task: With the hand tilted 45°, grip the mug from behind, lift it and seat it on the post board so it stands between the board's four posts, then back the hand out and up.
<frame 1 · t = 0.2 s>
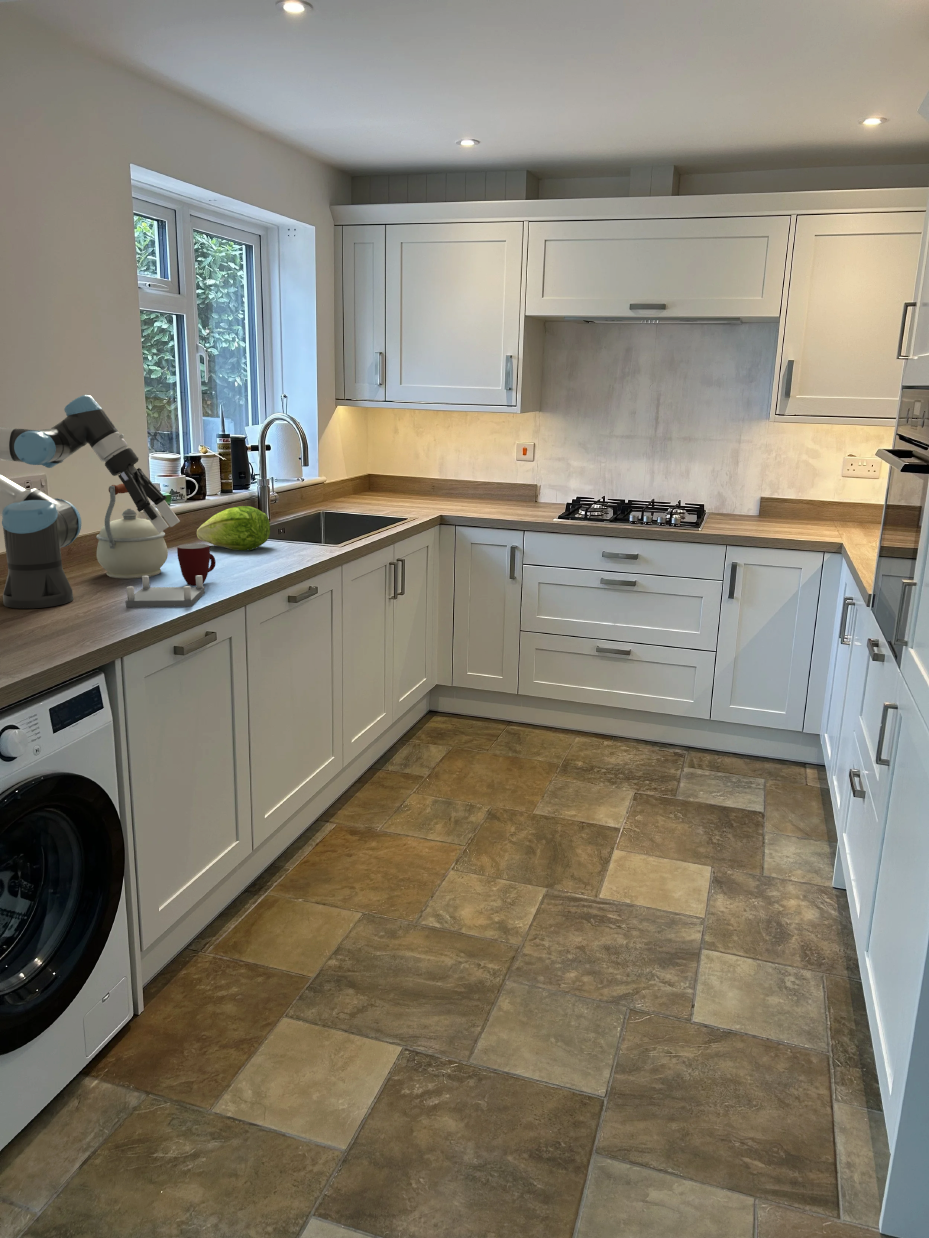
hand: (170, 527, 231), 16 cm above the worktop, fingers open, 13 cm apart
post board: (166, 599, 224), on the worktop
mug: (199, 584, 243), on the worktop
kettle: (137, 573, 256), on the worktop
lettuce: (232, 548, 297), on the worktop
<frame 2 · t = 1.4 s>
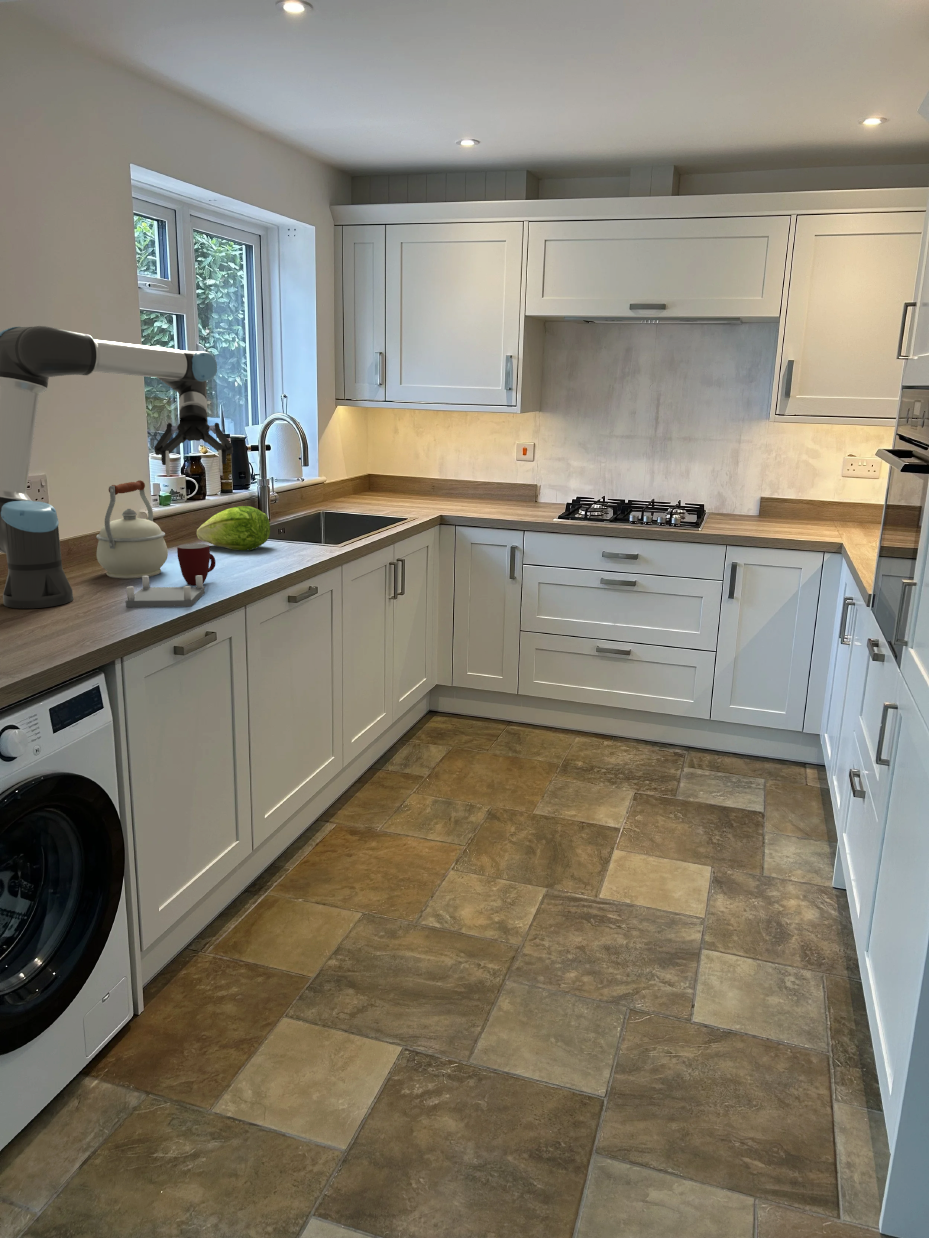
hand: (194, 472, 246), 28 cm above the worktop, fingers open, 13 cm apart
nothing on the worktop moved.
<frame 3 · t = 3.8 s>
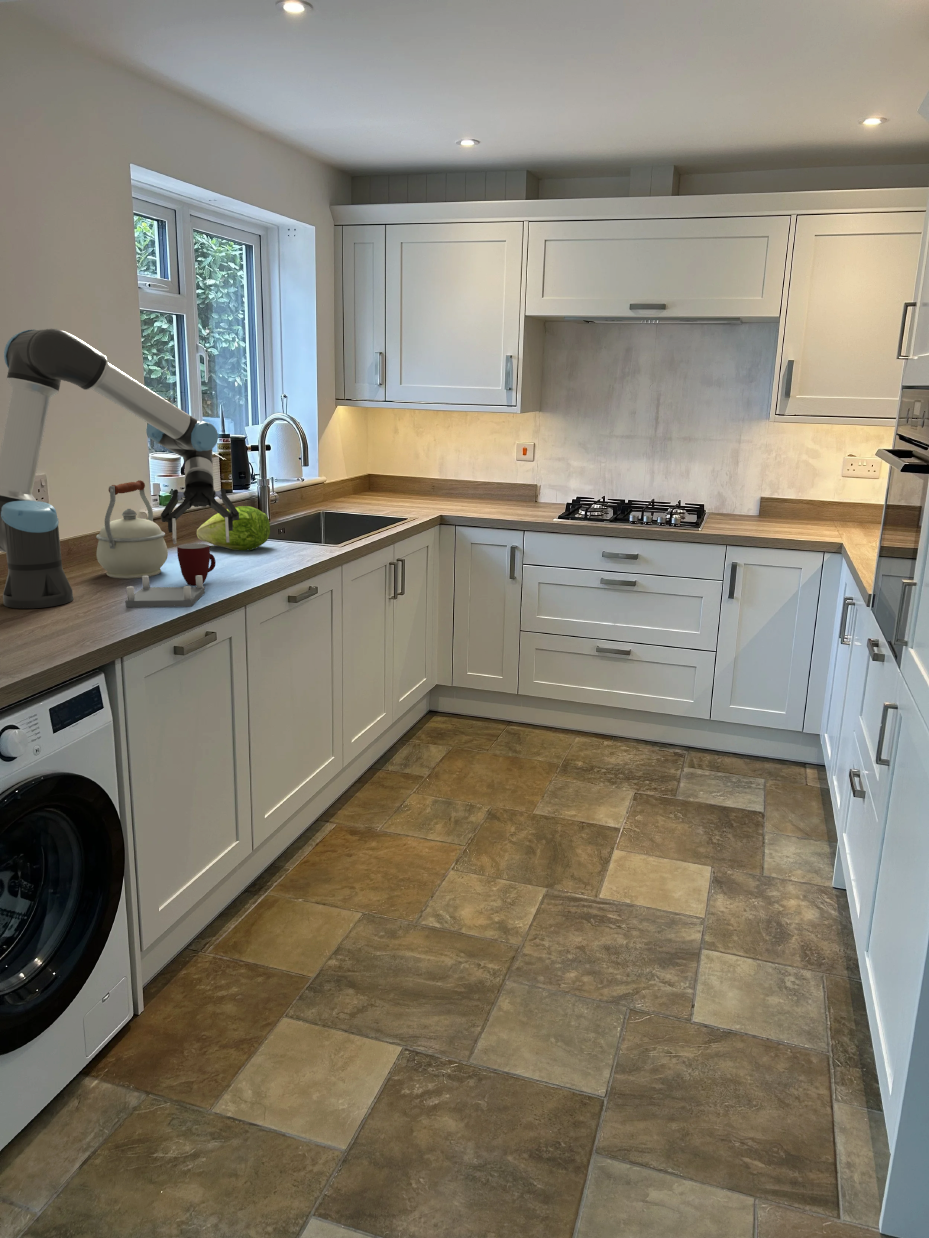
hand: (201, 540, 246), 10 cm above the worktop, fingers open, 13 cm apart
nothing on the worktop moved.
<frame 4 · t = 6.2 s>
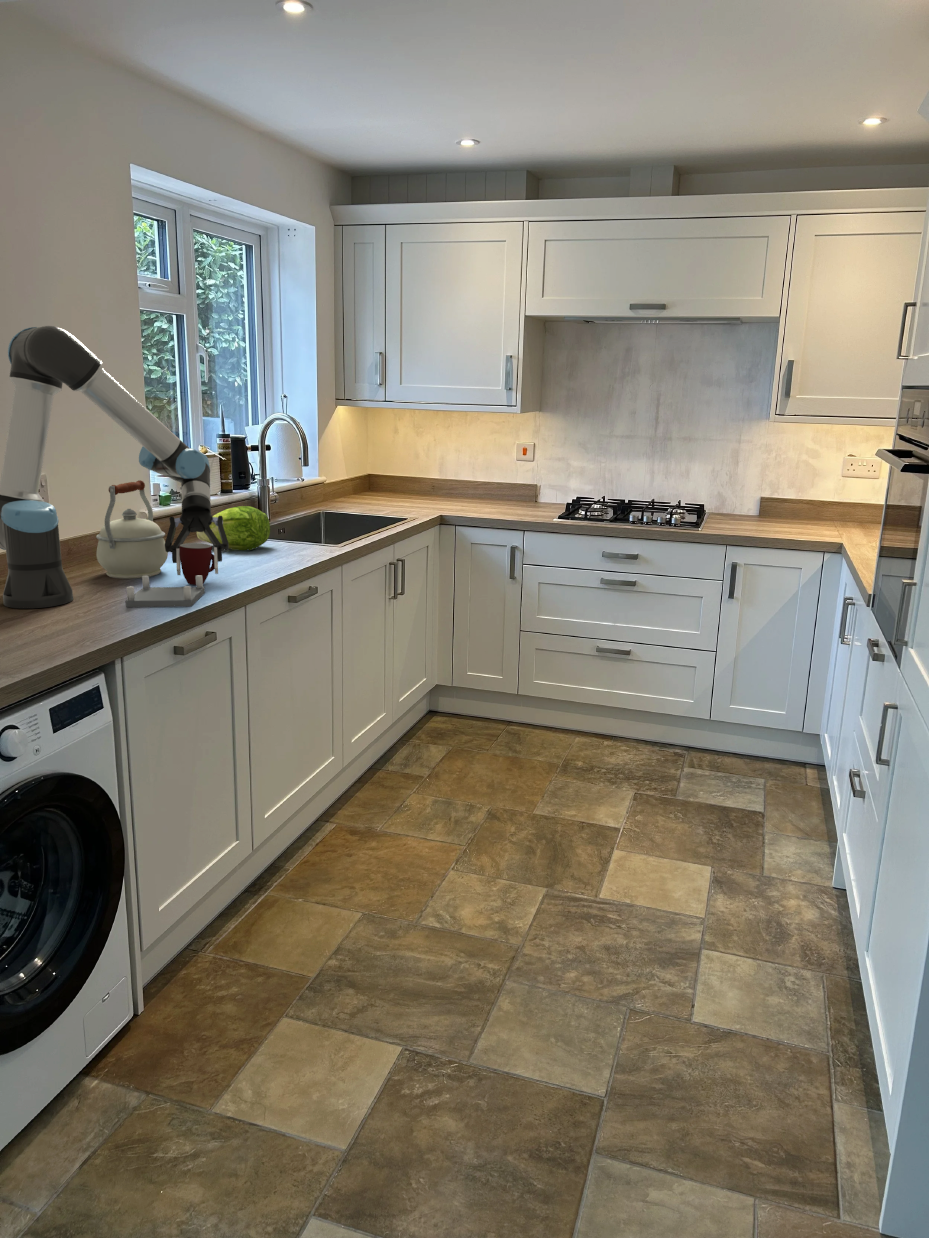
hand: (197, 571, 239), 4 cm above the worktop, fingers closed on mug, 9 cm apart
mug: (199, 583, 243), on the worktop, touching gripper
everything else where it was.
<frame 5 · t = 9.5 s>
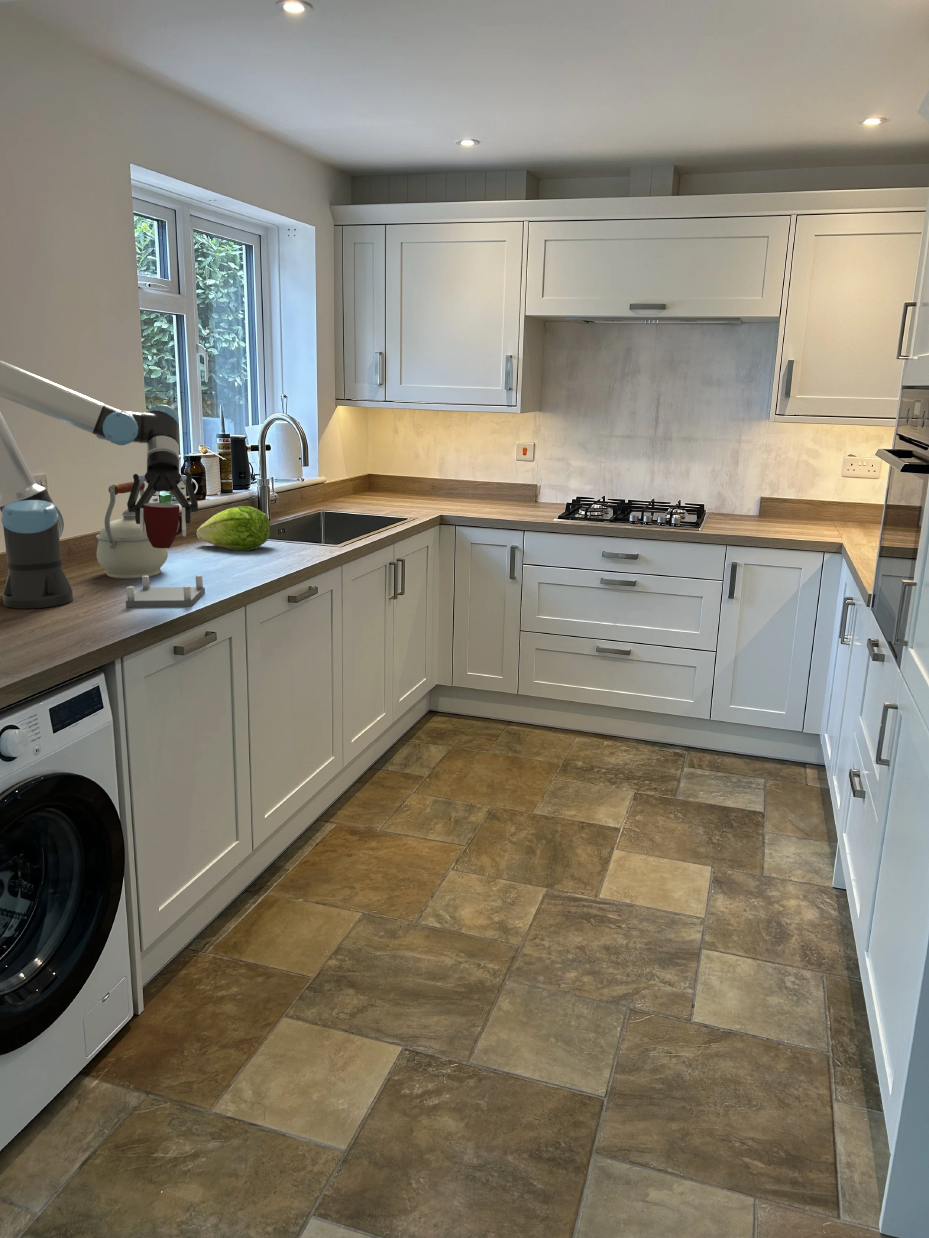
hand: (163, 533, 218), 16 cm above the worktop, fingers closed on mug, 9 cm apart
mug: (165, 547, 222), point 13 cm above the worktop, touching gripper
everything else where it was.
when the fingers open (7 cm above the worktop, at t = 12.8 s): mug drops 1 cm, resting on post board.
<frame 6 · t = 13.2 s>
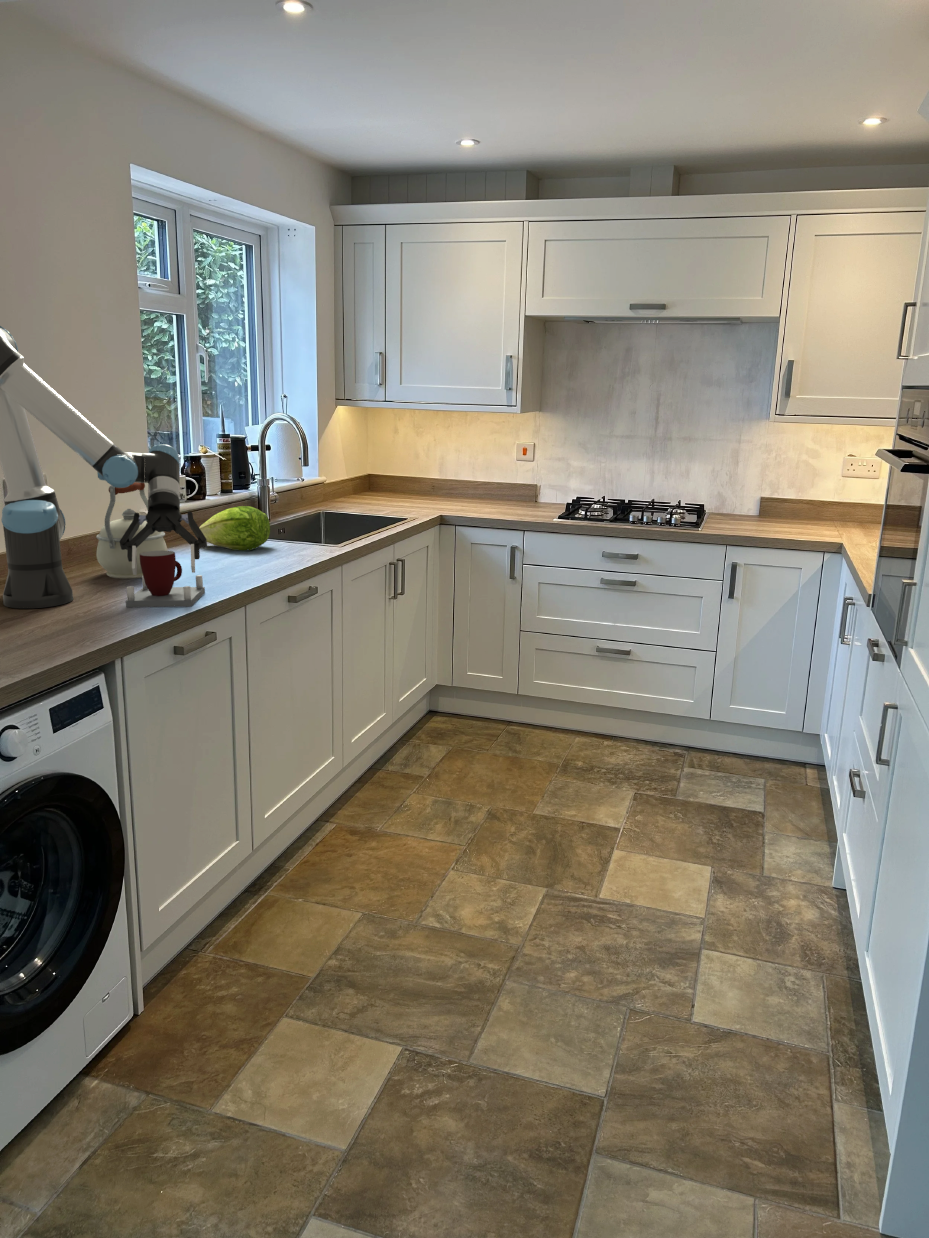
hand: (163, 570, 220), 8 cm above the worktop, fingers open, 13 cm apart
mug: (164, 594, 224), point 1 cm above the worktop, touching post board
everything else where it was.
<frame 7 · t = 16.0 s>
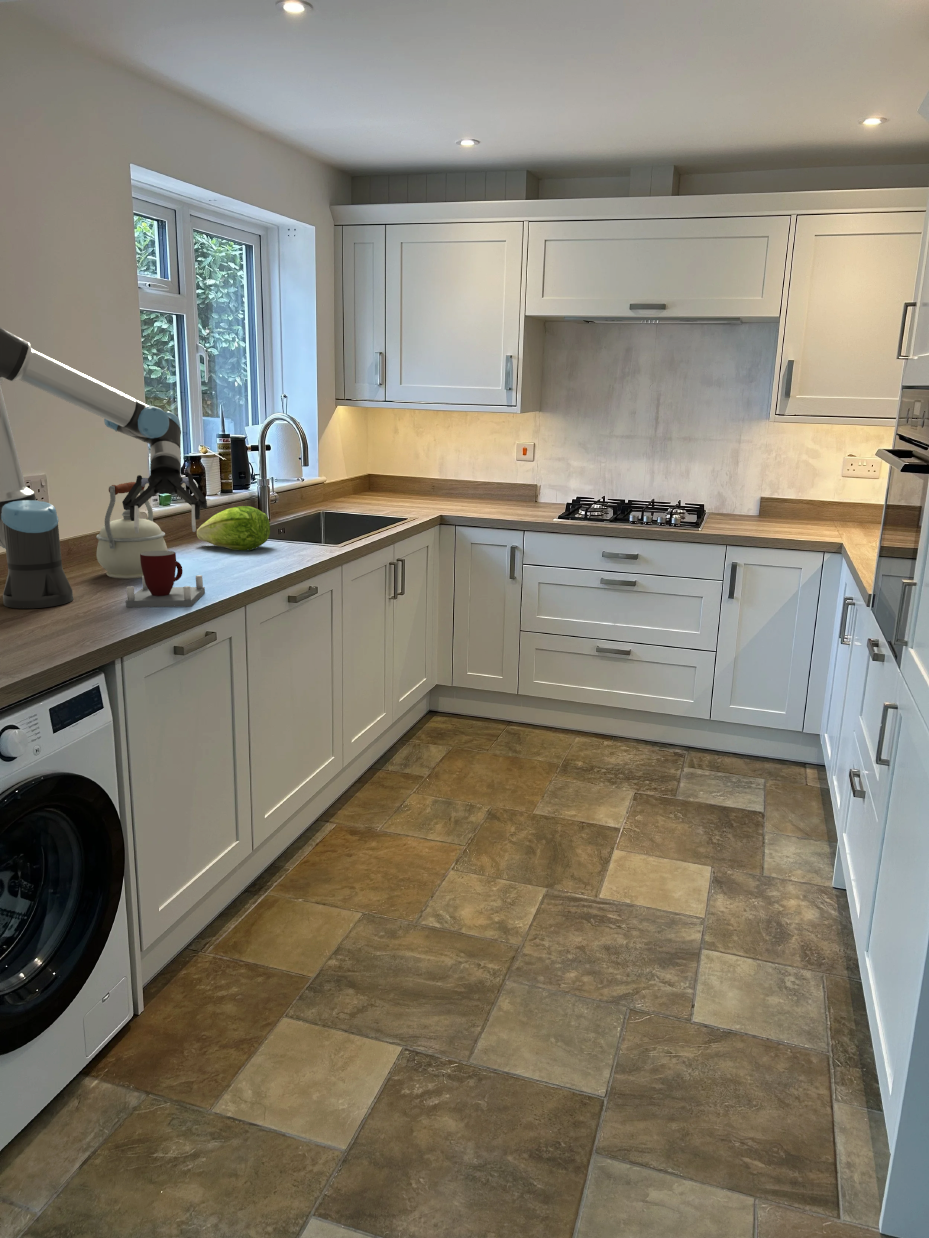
hand: (165, 529, 230), 16 cm above the worktop, fingers open, 13 cm apart
nothing on the worktop moved.
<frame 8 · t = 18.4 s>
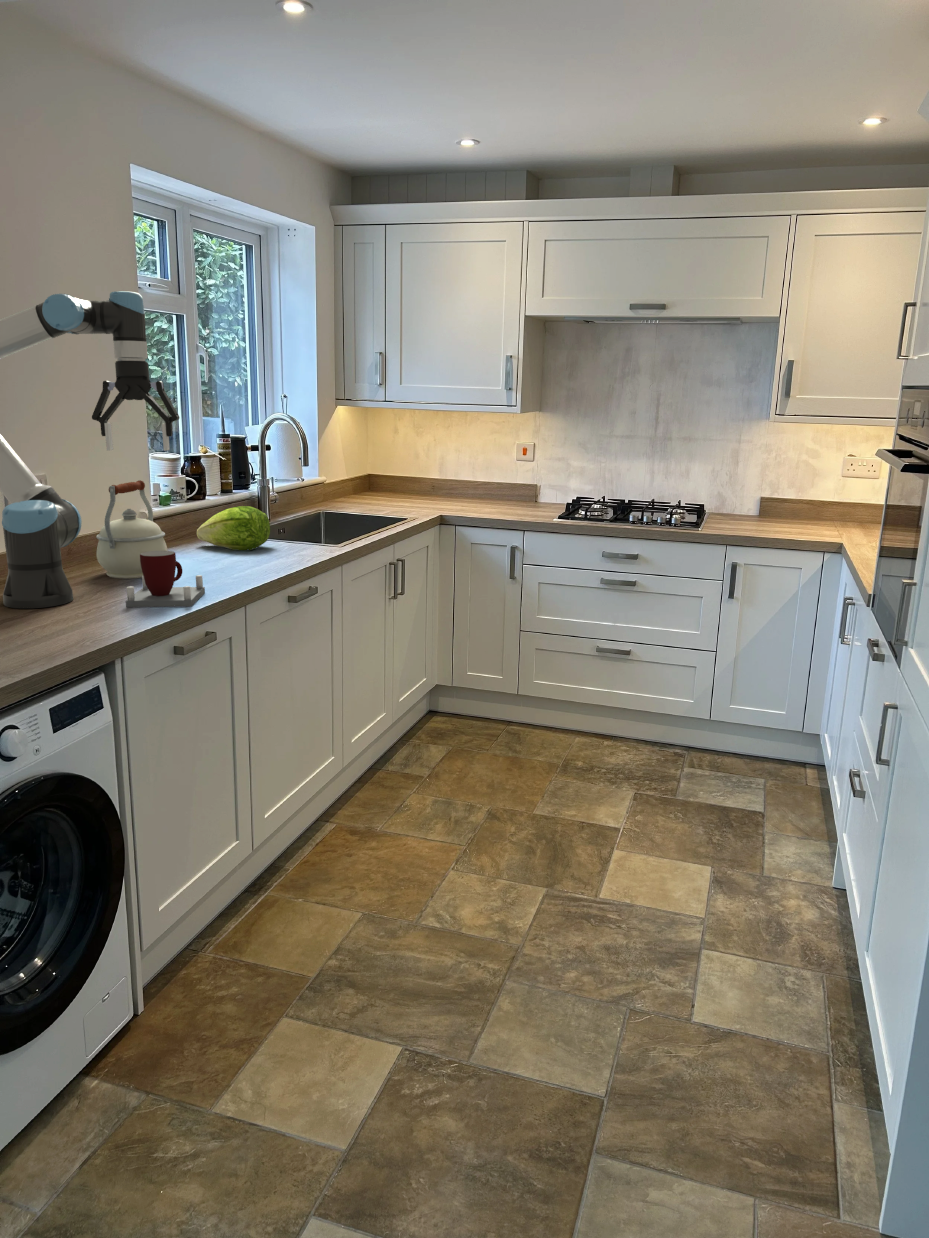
hand: (138, 450, 227), 35 cm above the worktop, fingers open, 13 cm apart
nothing on the worktop moved.
at the end: mug 0.5 cm off-centre on the post board, point 1.3 cm above the post board's base; mug tilted 0°; the gripper is holding nothing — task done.
